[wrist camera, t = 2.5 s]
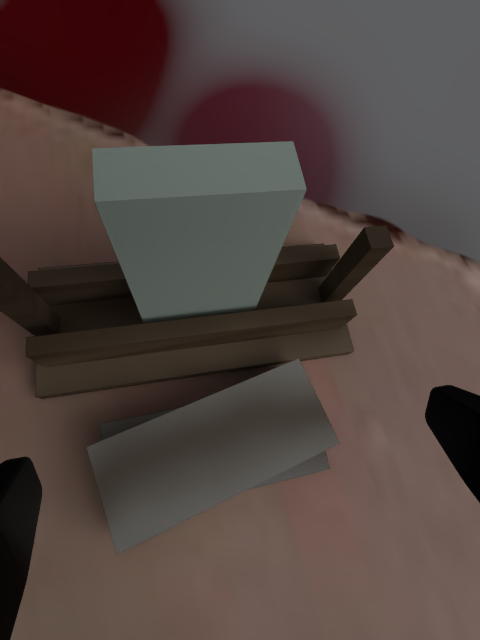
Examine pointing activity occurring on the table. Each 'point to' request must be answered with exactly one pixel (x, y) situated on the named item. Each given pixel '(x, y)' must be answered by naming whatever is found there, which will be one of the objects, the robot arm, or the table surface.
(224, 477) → the upper offcut
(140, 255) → the sage panel
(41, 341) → the walnut rack
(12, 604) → the robot arm
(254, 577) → the table surface
